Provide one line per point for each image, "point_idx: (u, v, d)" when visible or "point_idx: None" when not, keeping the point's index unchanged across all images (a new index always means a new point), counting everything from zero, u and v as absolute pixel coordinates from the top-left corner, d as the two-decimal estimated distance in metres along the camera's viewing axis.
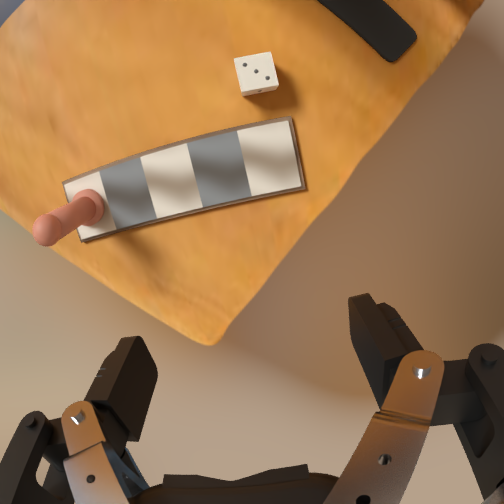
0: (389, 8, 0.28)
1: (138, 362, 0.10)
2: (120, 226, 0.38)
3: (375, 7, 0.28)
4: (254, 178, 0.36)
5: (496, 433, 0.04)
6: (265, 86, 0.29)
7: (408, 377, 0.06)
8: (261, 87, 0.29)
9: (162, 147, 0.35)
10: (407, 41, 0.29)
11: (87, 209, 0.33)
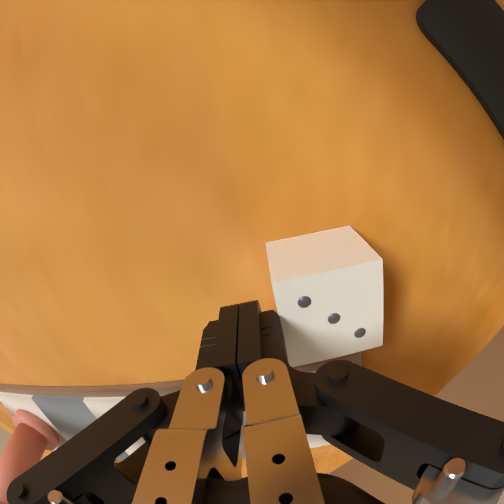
0: None
1: None
2: None
3: None
4: None
5: (385, 438, 0.05)
6: (350, 351, 0.12)
7: (256, 387, 0.07)
8: (339, 353, 0.12)
9: (114, 393, 0.17)
10: None
11: (35, 454, 0.16)
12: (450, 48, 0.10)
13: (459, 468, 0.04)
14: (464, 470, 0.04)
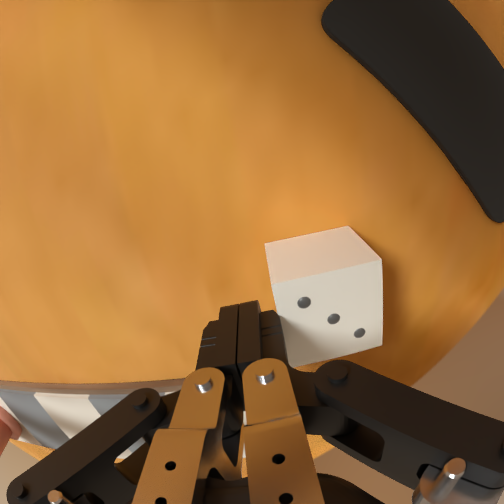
0: None
1: None
2: (46, 445, 0.21)
3: (485, 81, 0.11)
4: None
5: (385, 438, 0.05)
6: (350, 351, 0.12)
7: (256, 387, 0.07)
8: (339, 353, 0.12)
9: (57, 390, 0.18)
10: None
11: None
12: (362, 48, 0.11)
13: (459, 468, 0.04)
14: (464, 470, 0.04)
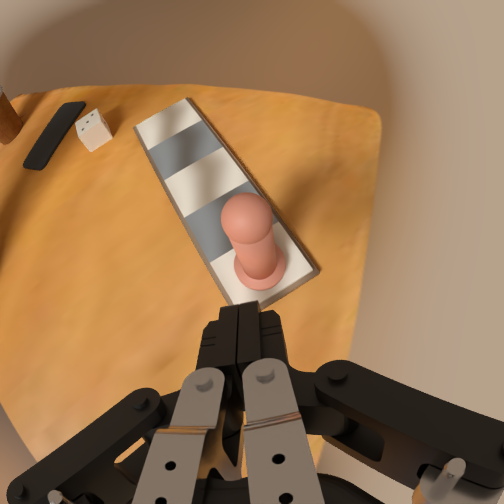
0: (48, 124, 0.44)
1: None
2: None
3: (49, 129, 0.44)
4: (186, 124, 0.38)
5: (385, 438, 0.05)
6: (97, 113, 0.38)
7: (256, 387, 0.07)
8: (98, 114, 0.37)
9: (172, 201, 0.34)
10: (69, 104, 0.45)
11: None
12: (47, 157, 0.41)
13: (459, 468, 0.04)
14: (464, 470, 0.04)
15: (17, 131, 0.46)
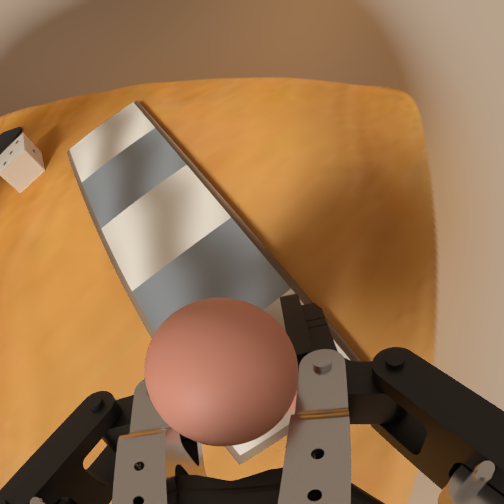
0: None
1: None
2: (280, 282, 0.18)
3: None
4: (133, 137, 0.25)
5: (428, 430, 0.05)
6: (23, 138, 0.24)
7: (311, 377, 0.07)
8: (23, 140, 0.24)
9: (114, 263, 0.20)
10: (5, 133, 0.33)
11: None
12: None
13: (488, 471, 0.03)
14: (492, 475, 0.03)
15: None
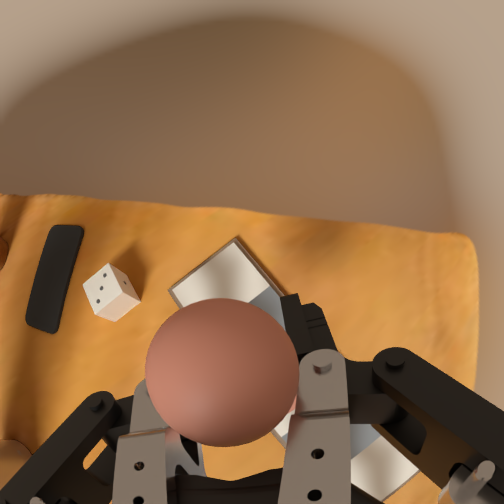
0: (41, 259, 0.37)
1: None
2: None
3: (45, 269, 0.36)
4: (248, 292, 0.30)
5: (428, 430, 0.05)
6: (112, 273, 0.30)
7: (311, 377, 0.07)
8: (114, 276, 0.30)
9: None
10: (60, 229, 0.38)
11: None
12: (56, 316, 0.33)
13: (488, 471, 0.03)
14: (492, 475, 0.03)
15: (4, 258, 0.38)
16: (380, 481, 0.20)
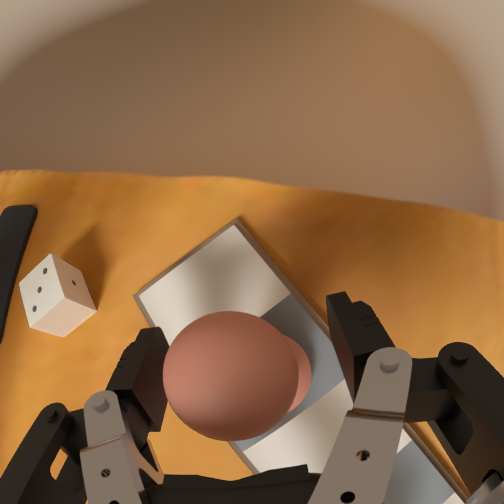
0: None
1: (158, 352, 0.11)
2: (447, 489, 0.12)
3: None
4: (256, 304, 0.18)
5: (475, 430, 0.05)
6: (54, 268, 0.18)
7: (376, 374, 0.07)
8: (56, 273, 0.18)
9: None
10: (12, 210, 0.26)
11: None
12: None
13: None
14: None
15: None
16: None
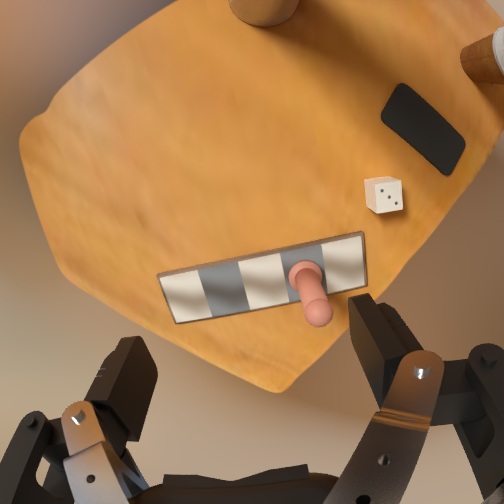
0: (445, 122, 0.37)
1: (138, 362, 0.10)
2: (216, 314, 0.47)
3: (435, 125, 0.37)
4: (331, 281, 0.45)
5: (496, 433, 0.04)
6: (393, 210, 0.38)
7: (408, 377, 0.06)
8: (390, 210, 0.39)
9: (257, 255, 0.44)
10: (459, 152, 0.38)
11: None
12: (393, 126, 0.37)
13: None
14: None
15: (468, 74, 0.33)
16: (180, 299, 0.46)
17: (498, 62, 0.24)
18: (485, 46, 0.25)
